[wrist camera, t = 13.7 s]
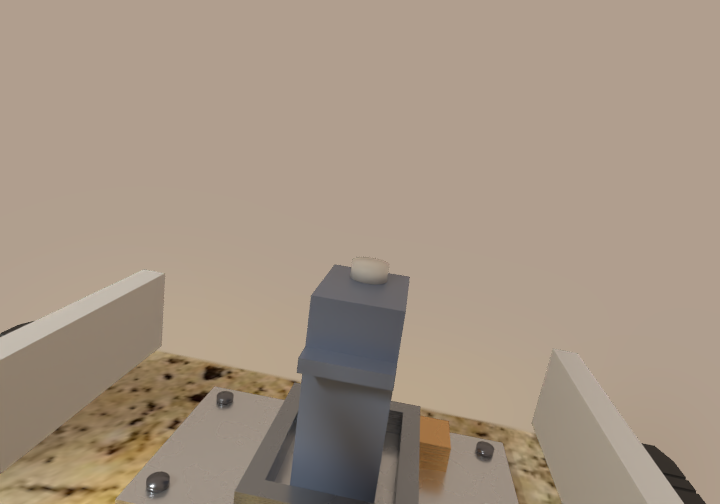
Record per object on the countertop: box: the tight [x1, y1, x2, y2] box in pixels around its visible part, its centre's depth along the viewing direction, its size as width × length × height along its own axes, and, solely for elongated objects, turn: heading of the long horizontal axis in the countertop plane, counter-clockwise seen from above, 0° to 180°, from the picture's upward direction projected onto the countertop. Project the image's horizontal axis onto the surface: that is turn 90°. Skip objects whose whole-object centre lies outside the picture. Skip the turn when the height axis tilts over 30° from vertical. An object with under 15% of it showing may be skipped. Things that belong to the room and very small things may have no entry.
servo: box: [290, 257, 410, 503], centre depth 28 cm, size 5×9×13 cm, turn 173°
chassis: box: [115, 383, 519, 504], centre depth 29 cm, size 22×12×3 cm, turn 82°
